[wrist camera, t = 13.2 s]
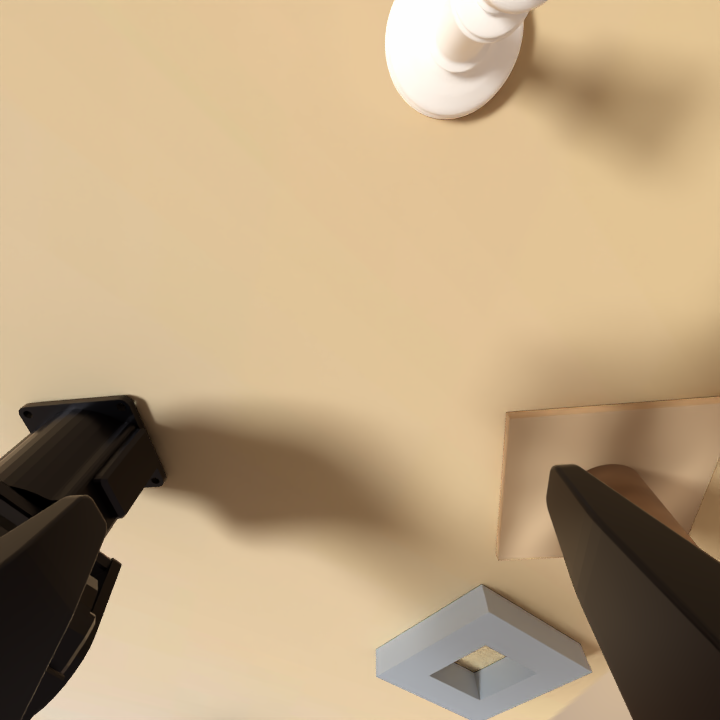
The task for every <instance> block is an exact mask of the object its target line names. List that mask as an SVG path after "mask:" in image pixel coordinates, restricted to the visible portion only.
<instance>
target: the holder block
mask: <svg viewBox="0 0 720 720" xmlns="http://www.w3.org/2000/svg"><path fill="white" fill-rule="evenodd" d="M485 645H486V646H488V647H489V648H491V649H493V650H495V651H497V652H499V653H500V654H502V655H504V656H506V657H505V658H503V659H501V660H499V661H497V662H495V663H493V664H491V665H489V666H487V667H485V668H483V669H481V670H479V671H477V672H475V673H474V672H472V671H470V670H468V669H466V668H464V667H462V666H460V665H458V664H456V663H454V662H455V661H457V660H459V659H461V658H463V657H465V656H467V655H468V654H470V653H472V652H474V651H476V650H478V649H480V648H481V647H483V646H485ZM590 673H592V670H591V668H590V666H589V663H588V661H587V658H586V656H585V654H584V651H583V649H582V647H581V644H579V643H578V642H576V641H574V640H573V639H571V638H569V637H568V636H566V635H564V634H563V633H561V632H559V631H558V630H556V629H554V628H553V627H551V626H550V625H548V624H546V623H545V622H543V621H541V620H540V619H538V618H536V617H535V616H533V615H531V614H530V613H528V612H526V611H525V610H523V609H522V608H520V607H518V606H517V605H515V604H513V603H512V602H510V601H508V600H507V599H505V598H503V597H502V596H500V595H498V594H497V593H495V592H494V591H492V590H490V589H489V588H487V587H485V586H484V585H480V586H478V587H477V588H475V589H473V590H472V591H470V592H469V593H467V594H465V595H464V596H462V597H460V598H459V599H457V600H456V601H454V602H452V603H451V604H449V605H447V606H446V607H444V608H442V609H441V610H439V611H438V612H436V613H434V614H433V615H431V616H429V617H428V618H426V619H425V620H423V621H421V622H420V623H418V624H416V625H415V626H413V627H412V628H410V629H408V630H407V631H405V632H403V633H402V634H400V635H399V636H397V637H395V638H394V639H392V640H390V641H389V642H387V643H386V644H384V645H382V646H381V647H379V648H377V649H376V677H378V678H380V679H382V680H384V681H387V682H389V683H391V684H393V685H395V686H397V687H400V688H402V689H404V690H406V691H408V692H410V693H413V694H415V695H417V696H419V697H421V698H424V699H426V700H428V701H430V702H432V703H434V704H437V705H439V706H441V707H443V708H445V709H447V710H450V711H452V712H454V713H456V714H458V715H460V716H463V717H465V718H467V719H469V720H486V719H489V718H491V717H493V716H495V715H498V714H500V713H502V712H504V711H507V710H509V709H511V708H513V707H516V706H518V705H520V704H522V703H525V702H527V701H529V700H531V699H534V698H536V697H538V696H540V695H543V694H545V693H547V692H549V691H551V690H554V689H556V688H558V687H560V686H563V685H565V684H567V683H569V682H572V681H574V680H576V679H578V678H581V677H583V676H585V675H587V674H590Z"/></svg>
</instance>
